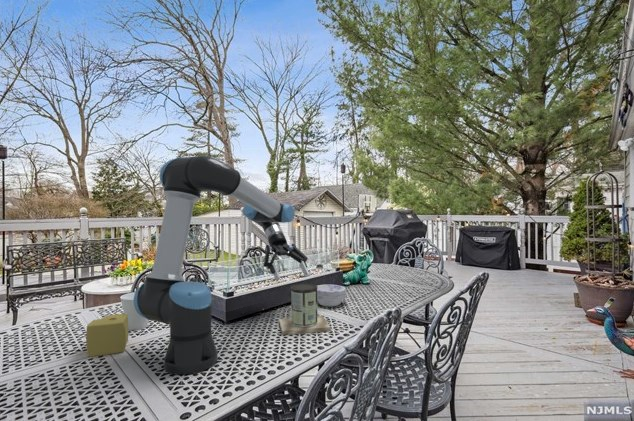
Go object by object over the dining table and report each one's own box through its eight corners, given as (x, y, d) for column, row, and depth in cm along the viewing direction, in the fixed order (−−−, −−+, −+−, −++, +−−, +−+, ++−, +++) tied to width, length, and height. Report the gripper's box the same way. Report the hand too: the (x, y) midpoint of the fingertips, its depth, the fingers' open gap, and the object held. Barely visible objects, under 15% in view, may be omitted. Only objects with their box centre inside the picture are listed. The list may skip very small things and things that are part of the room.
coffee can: (300, 316, 140) (300, 282, 140) (322, 321, 135) (322, 285, 134) (285, 324, 131) (285, 287, 131) (308, 329, 126) (308, 291, 126)
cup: (123, 335, 125) (123, 301, 125) (117, 326, 134) (117, 294, 134) (158, 327, 132) (158, 295, 132) (150, 319, 142) (150, 289, 141)
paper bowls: (345, 299, 170) (345, 283, 170) (345, 309, 155) (345, 291, 155) (315, 299, 172) (315, 283, 171) (311, 308, 156) (311, 291, 156)
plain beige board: (282, 334, 125) (282, 330, 125) (279, 322, 137) (279, 319, 137) (330, 331, 128) (330, 327, 128) (322, 319, 141) (322, 315, 141)
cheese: (94, 345, 116) (93, 316, 116) (130, 340, 120) (129, 312, 120) (85, 358, 106) (85, 326, 106) (125, 353, 110) (124, 322, 110)
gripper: (297, 241, 161) (314, 278, 149) (247, 244, 147) (262, 286, 135) (303, 230, 157) (321, 268, 145) (252, 233, 143) (268, 275, 131)
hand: (293, 277), depth 140 cm, fingers open, 13 cm apart
